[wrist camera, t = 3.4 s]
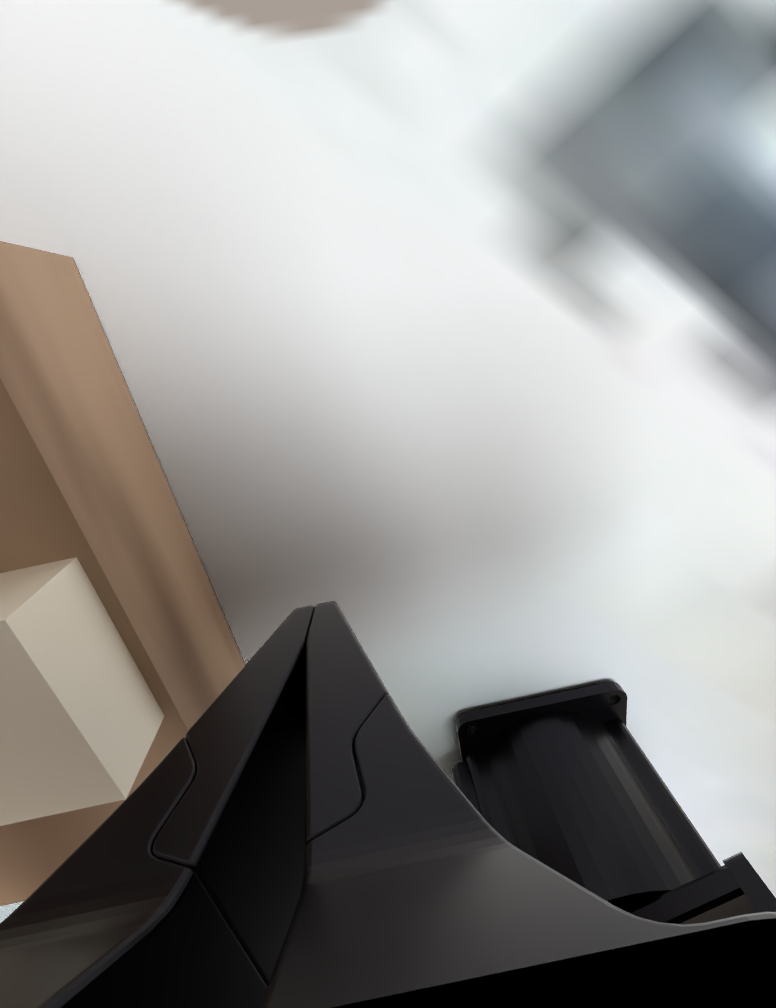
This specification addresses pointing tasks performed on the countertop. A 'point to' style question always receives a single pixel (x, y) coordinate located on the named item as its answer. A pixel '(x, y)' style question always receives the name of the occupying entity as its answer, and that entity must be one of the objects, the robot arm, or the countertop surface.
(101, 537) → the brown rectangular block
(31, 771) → the cream block
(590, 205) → the countertop surface
